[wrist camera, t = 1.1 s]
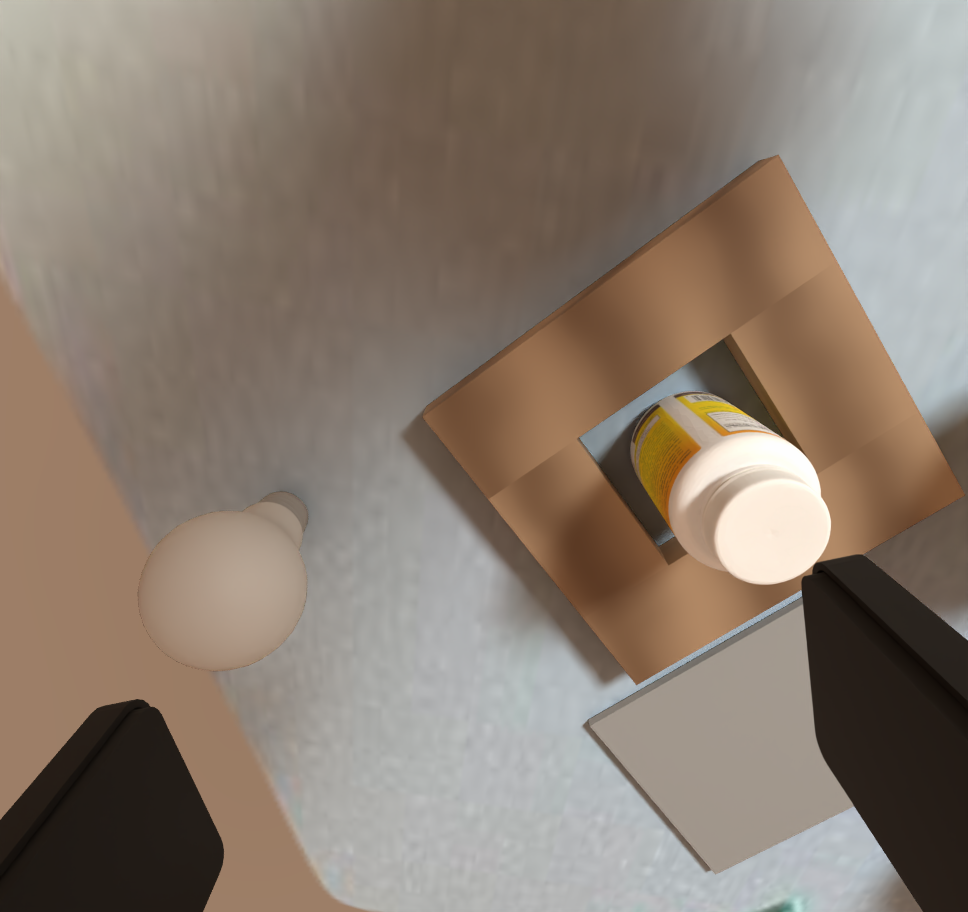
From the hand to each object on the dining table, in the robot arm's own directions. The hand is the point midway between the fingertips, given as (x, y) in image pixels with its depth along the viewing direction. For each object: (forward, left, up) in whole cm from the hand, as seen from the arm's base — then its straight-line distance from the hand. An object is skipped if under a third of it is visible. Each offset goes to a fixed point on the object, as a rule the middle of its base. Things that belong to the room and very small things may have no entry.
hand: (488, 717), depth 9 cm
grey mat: (0, +26, -22) cm, 34 cm away
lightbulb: (+12, -1, -23) cm, 26 cm away
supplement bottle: (-6, +8, -23) cm, 25 cm away
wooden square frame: (-6, +8, -22) cm, 25 cm away
